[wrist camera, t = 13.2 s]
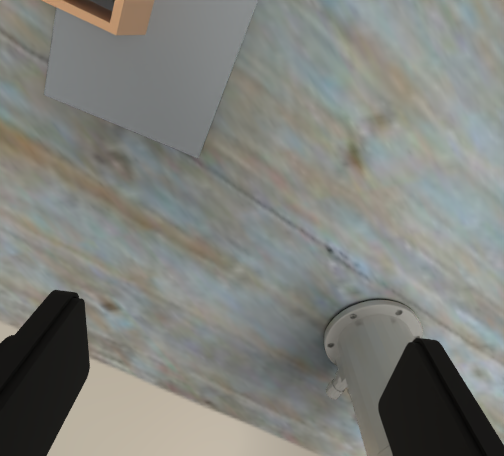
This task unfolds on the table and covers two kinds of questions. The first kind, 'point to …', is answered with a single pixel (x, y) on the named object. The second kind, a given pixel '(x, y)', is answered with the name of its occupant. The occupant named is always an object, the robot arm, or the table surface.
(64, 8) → the hollow square tube
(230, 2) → the grey peg stand
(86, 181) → the table surface
